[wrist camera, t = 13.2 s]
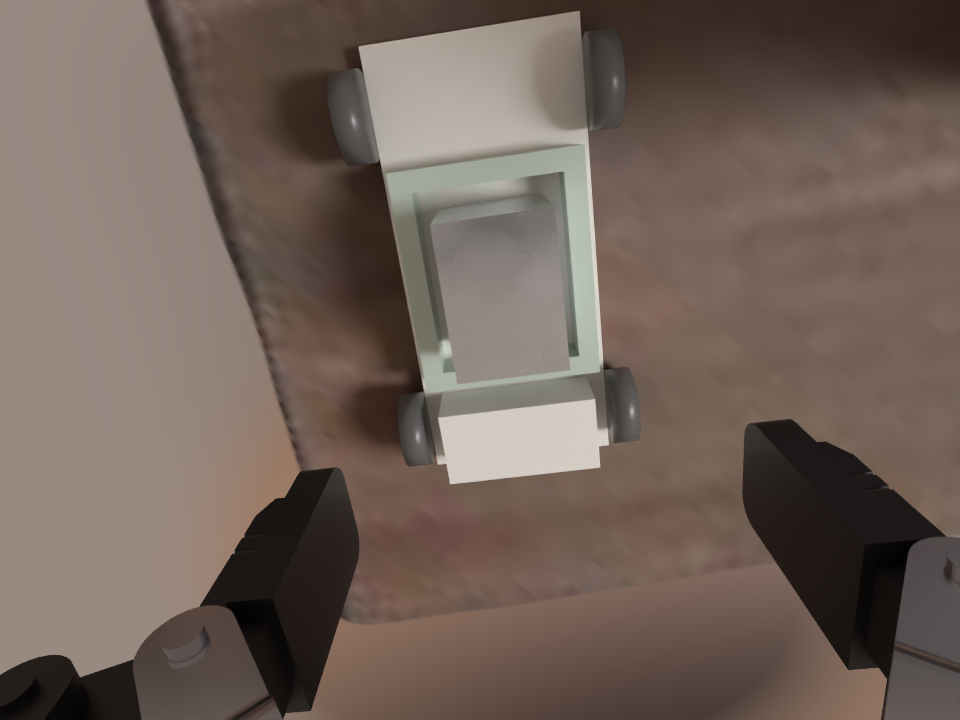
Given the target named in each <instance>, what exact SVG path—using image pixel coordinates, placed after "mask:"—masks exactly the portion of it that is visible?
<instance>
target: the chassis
mask: <svg viewBox="0 0 960 720" xmlns="http://www.w3.org/2000/svg"><path fill="white" fill-rule="evenodd" d="M358 47H359V52H360V58H361V63H362V68H363V73H364V76H363V74H362V72H361V70H360V69H359V68H355V69H348V70H342V71H336V72H330V73H329V74H328V77H327V100H328V107H329V113H330V118H331V123H332V127H333V131H334V134H335V138H336V141H337V144H338V147H339V149H340V152H341V154H342V156H343V158H344V160H345V162H346V163H347V164H348V165H349V166H350V167H353V166H360V165H367V164H373V163H377V162H378V161H379V157H380V163H381V168H382V173H383V178H384V184H385V189H386V194H387V199H388V205H389V210H390V215H391V220H392V226H393V231H394V236H395V241H396V247H397V252H398V257H399V262H400V268H401V273H402V278H403V283H404V289H405V294H406V299H407V304H408V310H409V315H410V320H411V325H412V331H413V336H414V341H415V346H416V352H417V357H418V362H419V367H420V373H421V378H422V383H423V388H424V392H417V393H409V394H402V395H401V396H400V398H399V403H398V430H399V438H400V444H401V449H402V453H403V457H404V460H405V462H406V464H407V465H408V466H409V467H410V466H419V465H428V464H432V463H433V460H434V446H435V451H436V457H437V462H438V465H439V464H447V469H448V474H449V480H450V484H457V483H466V482H475V481H483V480H492V479H501V478H510V477H519V476H528V475H537V474H546V473H555V472H564V471H573V470H582V469H591V468H600V458H599V446H606V445H609V443H608V430H609V434H610V437H611V439H612V441H613V443H620V442H629V441H637V440H638V439H639V437H640V429H641V423H640V409H639V401H638V395H637V390H636V386H635V382H634V379H633V376H632V373H631V371H630V369H629V368H628V367H621V368H613V369H605V370H604V368H603V353H602V338H601V323H600V308H599V293H598V278H597V263H596V248H595V233H594V218H593V203H592V188H591V174H590V159H589V144H588V129H587V126H588V128H589V130H590V131H596V130H603V129H609V128H616V127H619V126H620V125H621V122H622V119H623V114H624V108H625V93H626V78H625V61H624V53H623V47H622V42H621V38H620V34H619V32H618V30H617V29H616V28H615V27H612V28H606V29H600V30H594V31H587V32H585V33H584V35H583V39H581V24H580V11H575V12H569V13H563V14H556V15H550V16H544V17H538V18H532V19H525V20H519V21H513V22H507V23H501V24H495V25H488V26H482V27H476V28H470V29H464V30H457V31H451V32H445V33H439V34H433V35H426V36H420V37H414V38H408V39H402V40H395V41H389V42H383V43H377V44H371V45H364V46H358ZM539 193H542V194H543V195H544V196H545V197H546V198H547V199H548V200H549V201H550V202H551V203H552V204H553V205H554V206H555V212H556V223H557V233H558V244H559V255H560V265H561V276H562V286H563V297H564V308H565V318H566V329H567V340H568V350H569V361H570V370H567V371H559V372H551V373H544V374H536V375H528V376H520V377H512V378H504V379H496V380H488V381H481V382H473V383H465V384H457V380H456V374H455V369H454V363H453V357H452V351H451V345H450V339H449V334H448V328H447V322H446V316H445V310H444V305H443V299H442V293H441V287H440V281H439V276H438V270H437V264H436V258H435V252H434V247H433V241H432V235H431V229H430V224H431V222H432V221H433V219H434V218H435V216H436V215H437V213H438V212H439V211H440V209H441V208H444V207H451V206H458V205H465V204H471V203H478V202H485V201H492V200H499V199H505V198H512V197H519V196H526V195H533V194H539ZM607 426H608V428H607Z"/></svg>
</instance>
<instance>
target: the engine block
mask: <svg viewBox="0 0 960 720" xmlns="http://www.w3.org/2000/svg"><path fill="white" fill-rule="evenodd" d="M430 229H431V235H432V241H433V247H434V252H435V258H436V264H437V270H438V276H439V281H440V287H441V293H442V299H443V305H444V310H445V316H446V322H447V328H448V334H449V339H450V345H451V351H452V357H453V363H454V369H455V374H456V380H457V384H465V383H473V382H481V381H488V380H496V379H504V378H512V377H520V376H528V375H536V374H544V373H551V372H559V371H567V370H570V361H569V350H568V340H567V329H566V318H565V308H564V297H563V286H562V276H561V265H560V255H559V244H558V233H557V223H556V212H555V206H554V205H553V204H552V203H551V202H550V201H549V200H548V199H547V198H546V197H545V196H544V195H543V194H542V193H539V194H533V195H526V196H519V197H512V198H505V199H499V200H492V201H485V202H478V203H471V204H465V205H458V206H451V207H444V208H441V209H440V211H439V212H438V213H437V215H436V216H435V218H434V219H433V221H432V222H431V224H430Z"/></svg>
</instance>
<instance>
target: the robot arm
mask: <svg viewBox="0 0 960 720" xmlns="http://www.w3.org/2000/svg"><path fill="white" fill-rule="evenodd" d="M742 493H743V503H744V508H745V511H746V514H747V517H748V520H749V522H750V524H751V525H752V527H753V529H754V530H755V532H756V533H757V535H758V536H759V538H760V539H761V541H762V542H763V543H764V545H765V546H766V548H767V549H768V551H769V552H770V554H771V555H772V557H773V558H774V560H775V561H776V563H777V564H778V566H779V567H780V569H781V570H782V572H783V573H784V575H785V576H786V578H787V579H788V581H789V582H790V584H791V585H792V587H793V588H794V590H795V591H796V593H797V594H798V596H799V597H800V599H801V600H802V602H803V603H804V605H805V606H806V608H807V609H808V611H809V612H810V614H811V615H812V617H813V618H814V619H815V621H816V622H817V624H818V626H819V627H820V629H821V630H822V631H823V633H824V635H825V636H826V638H827V639H828V641H829V642H830V643H831V645H832V646H833V648H834V649H835V651H836V652H837V654H838V655H839V657H840V658H841V660H842V661H843V663H844V664H845V666H846V667H847V669H848V670H853V669H866V668H879V669H880V670H881V671H882V672H883V674H884V675H885V677H886V678H887V684H886V691H885V697H884V703H883V709H882V716H881V720H960V538H955V537H947V536H945V535H944V534H943V533H942V532H941V531H940V530H939V529H937V528H936V527H935V526H934V525H933V524H932V523H931V522H929V521H928V520H927V519H926V518H925V517H924V516H923V515H921V514H920V513H919V512H918V511H917V510H916V509H915V508H913V507H912V506H911V505H910V504H909V503H908V502H907V501H906V500H904V499H903V498H902V497H901V496H900V495H899V494H898V493H896V492H895V491H894V490H890V489H889V486H888V485H887V484H886V483H885V482H884V481H883V480H882V479H880V478H879V477H878V476H877V475H873V472H872V471H871V470H870V469H869V468H868V467H867V466H866V465H864V464H863V463H862V462H861V461H860V460H859V459H858V458H857V457H855V456H854V455H853V454H851V453H849V452H847V451H844V450H842V449H840V448H838V447H836V446H834V445H832V444H830V443H828V442H816V441H815V440H814V439H813V438H812V437H811V436H810V435H808V434H807V433H806V432H805V431H804V430H803V429H802V428H801V427H800V426H799V425H798V424H797V423H796V422H794V421H793V420H791V419H786V420H776V421H767V422H758V423H750V424H748V425H747V427H746V429H745V435H744V461H743V490H742ZM358 557H359V535H358V530H357V526H356V522H355V518H354V514H353V510H352V506H351V502H350V498H349V494H348V491H347V487H346V483H345V479H344V476H343V473H342V471H341V470H340V469H339V468H337V467H335V468H326V469H317V470H308V471H301V472H300V473H299V474H298V476H297V477H296V479H295V481H294V483H293V484H292V486H291V488H290V490H289V491H288V493H287V495H286V497H285V498H277V499H275V500H274V501H273V502H271V503H270V504H269V505H268V506H267V507H266V508H264V509H263V510H262V511H261V512H260V513H259V514H257V515H256V516H255V518H254V520H253V521H252V523H251V524H250V526H249V528H248V529H247V531H246V533H245V537H244V538H242V539H241V541H240V542H239V544H238V545H237V547H236V549H235V554H232V555H231V557H230V558H229V560H228V562H227V563H226V565H225V566H224V568H223V570H222V571H221V573H220V574H219V576H218V578H217V579H216V581H215V582H214V584H213V586H212V587H211V589H210V591H209V592H208V594H207V595H206V597H205V599H204V600H203V602H202V603H201V605H200V607H198V608H193V609H191V610H188V611H185V612H183V613H181V614H179V615H177V616H175V617H173V618H171V619H169V620H168V621H167V622H165V623H164V624H162V625H161V626H160V627H158V628H157V629H156V630H155V631H153V632H152V633H151V634H150V636H148V637H147V639H146V640H145V641H144V642H143V643H142V645H141V646H140V648H139V649H138V651H137V653H136V656H135V658H134V659H133V660H130V661H127V662H125V663H122V664H119V665H116V666H113V667H110V668H107V669H104V670H101V671H98V672H95V673H92V674H89V675H86V676H83V677H79V675H78V673H77V671H76V669H75V667H74V666H73V664H72V662H71V660H70V659H68V658H67V657H64V656H61V655H48V656H43V657H38V658H35V659H32V660H29V661H27V662H24V663H22V664H19V665H17V666H16V667H13V668H11V669H9V670H8V671H6V672H4V673H3V674H1V675H0V720H283V718H284V716H285V713H291V712H303V711H311V709H312V705H313V702H314V699H315V696H316V693H317V689H318V686H319V683H320V680H321V676H322V674H323V670H324V667H325V664H326V661H327V658H328V654H329V651H330V648H331V645H332V642H333V638H334V635H335V632H336V629H337V626H338V623H339V620H340V616H341V613H342V610H343V607H344V604H345V600H346V597H347V594H348V591H349V588H350V585H351V581H352V578H353V575H354V572H355V569H356V565H357V562H358Z"/></svg>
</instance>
